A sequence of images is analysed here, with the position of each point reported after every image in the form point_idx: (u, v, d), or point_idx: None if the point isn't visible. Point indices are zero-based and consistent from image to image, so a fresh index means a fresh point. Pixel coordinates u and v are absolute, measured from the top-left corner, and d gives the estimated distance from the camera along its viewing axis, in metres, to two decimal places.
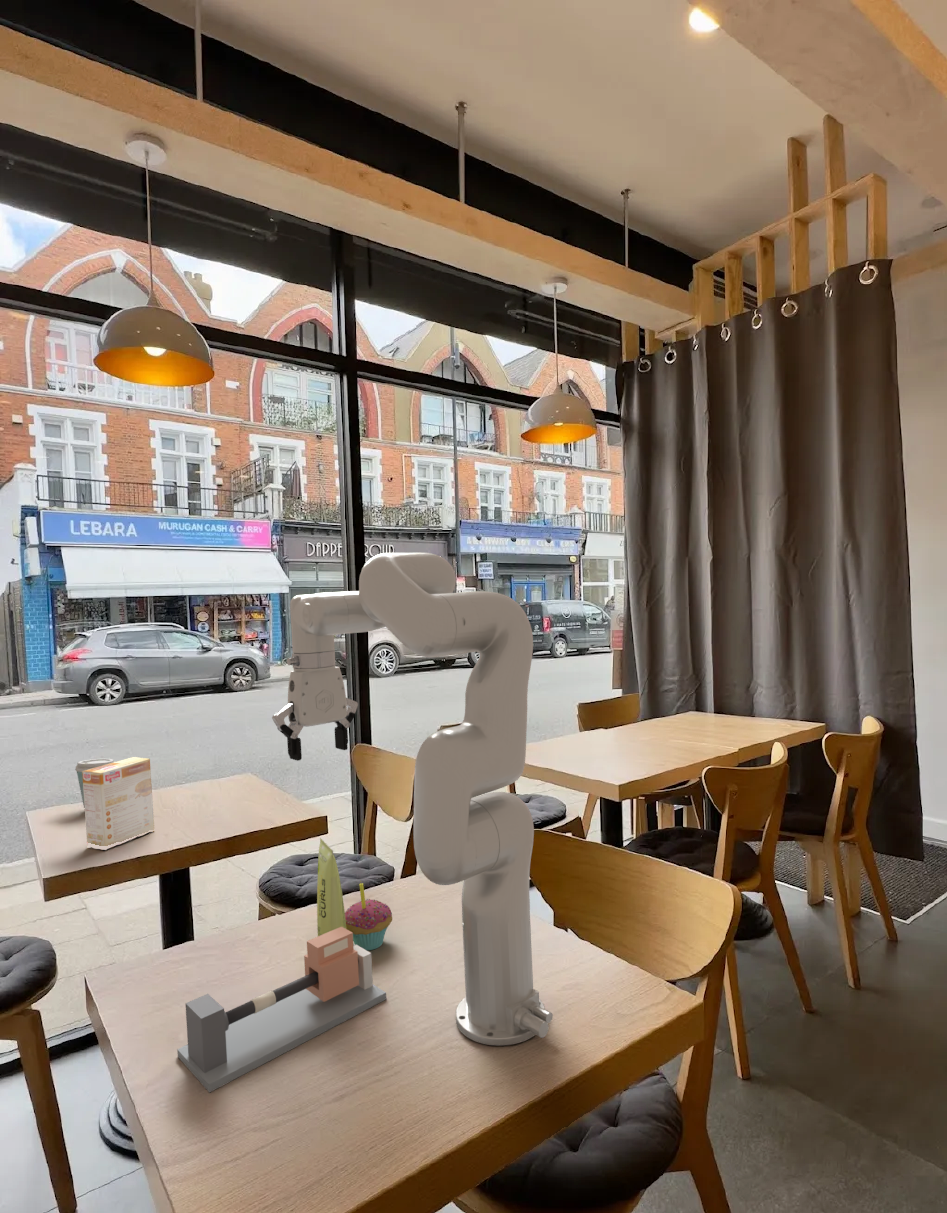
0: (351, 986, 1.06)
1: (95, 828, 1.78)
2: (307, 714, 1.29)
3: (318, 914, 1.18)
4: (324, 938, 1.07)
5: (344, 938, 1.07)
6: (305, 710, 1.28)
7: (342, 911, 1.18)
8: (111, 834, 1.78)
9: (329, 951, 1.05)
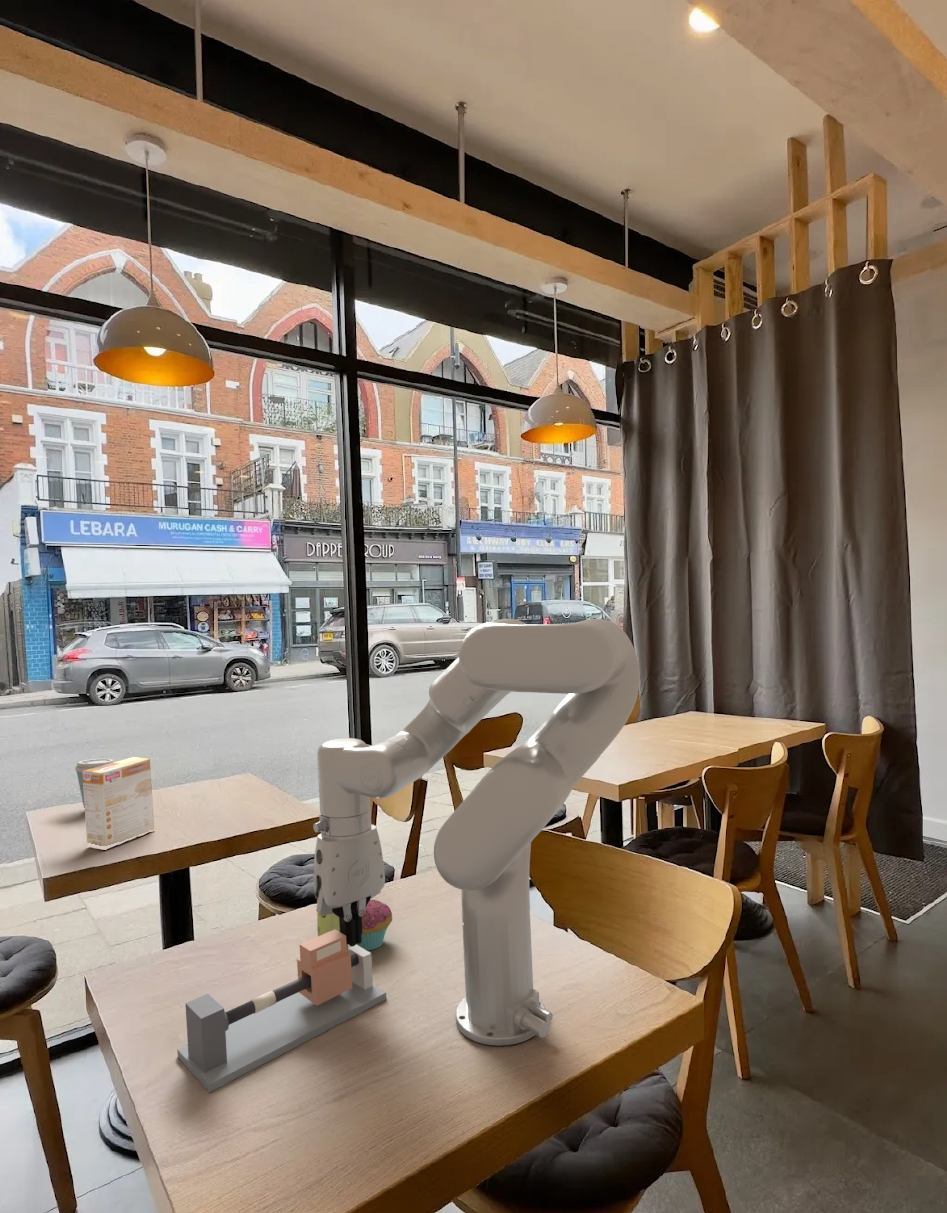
0: (344, 989, 1.06)
1: (95, 828, 1.78)
2: (338, 893, 1.05)
3: (318, 914, 1.18)
4: (317, 941, 1.06)
5: (337, 941, 1.06)
6: (335, 889, 1.05)
7: None
8: (111, 834, 1.78)
9: (322, 954, 1.04)
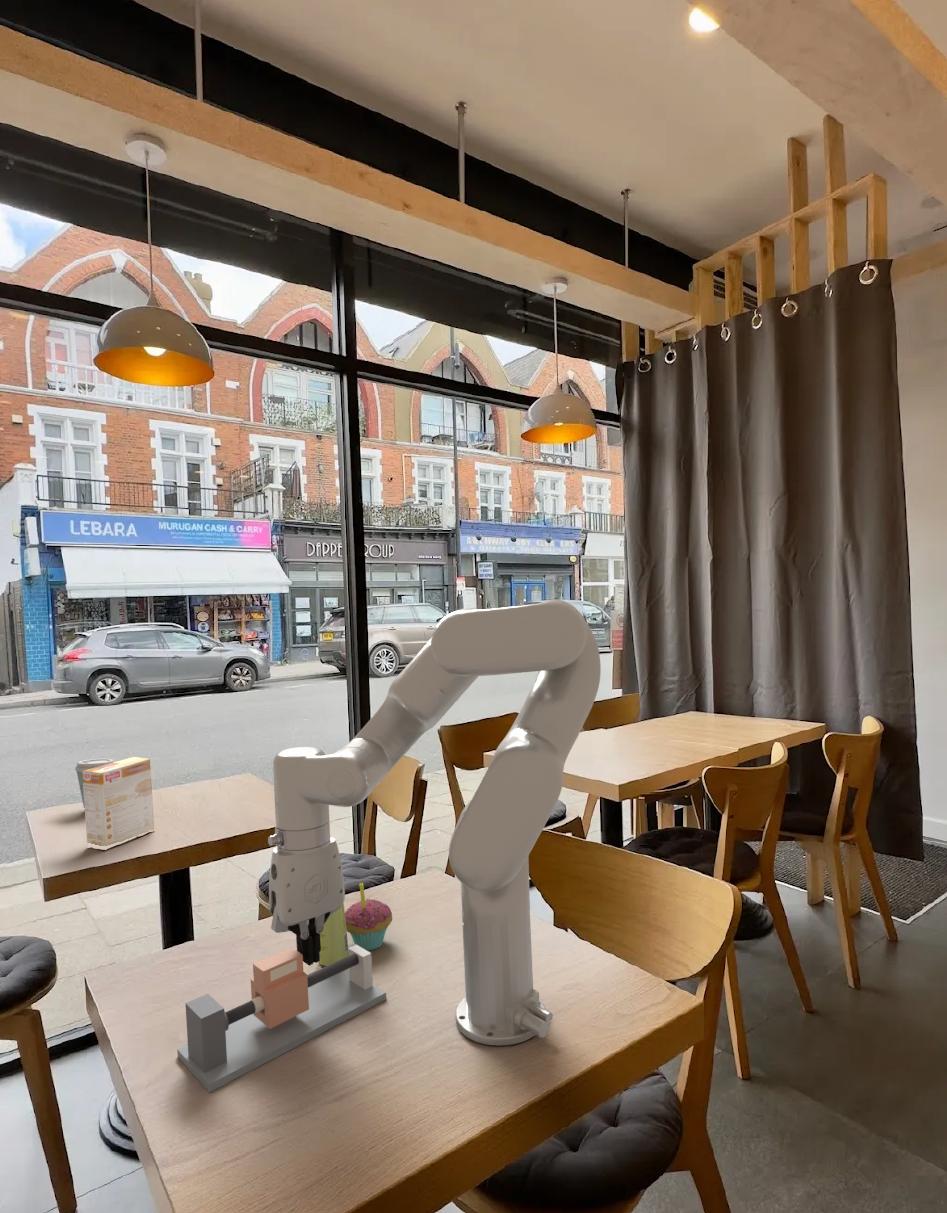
0: (300, 1011, 1.01)
1: (95, 828, 1.78)
2: (293, 910, 1.00)
3: None
4: (271, 960, 1.01)
5: (293, 960, 1.01)
6: (290, 905, 1.00)
7: (342, 911, 1.18)
8: (111, 834, 1.78)
9: (276, 974, 0.99)
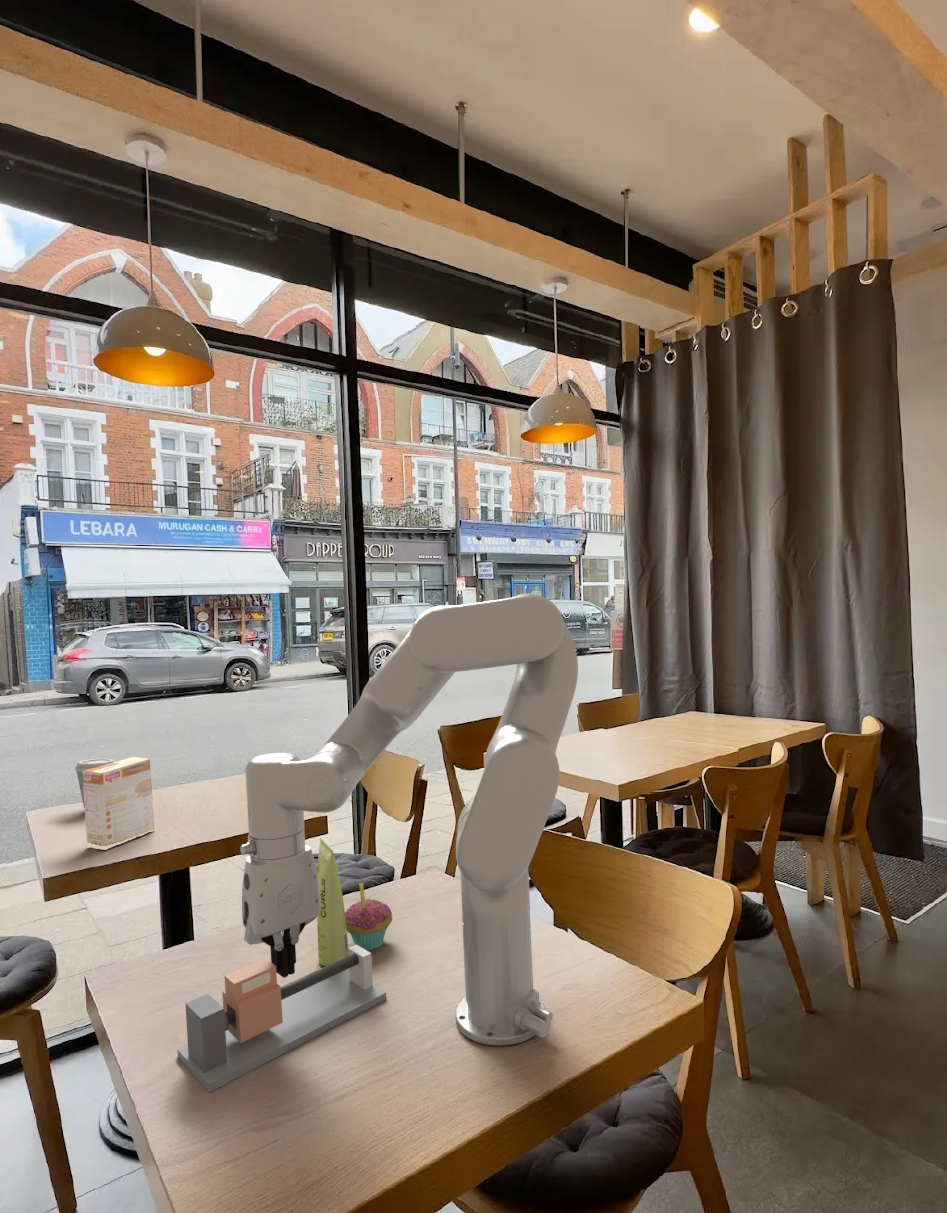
0: (273, 1024, 0.98)
1: (95, 828, 1.78)
2: (266, 921, 0.97)
3: (318, 914, 1.18)
4: (244, 972, 0.98)
5: (266, 972, 0.98)
6: (264, 916, 0.97)
7: (342, 911, 1.18)
8: (111, 834, 1.78)
9: (248, 987, 0.96)
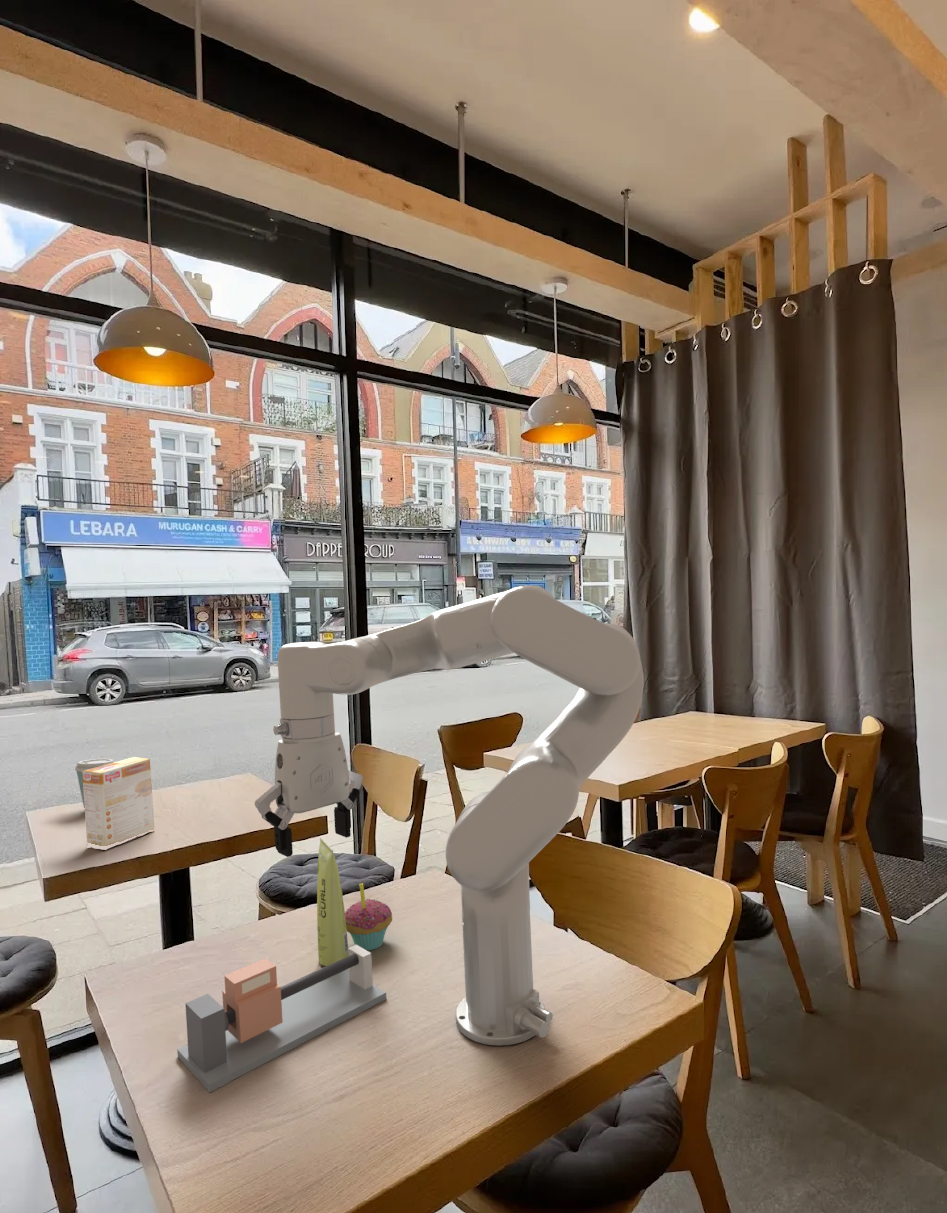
0: (273, 1024, 0.98)
1: (95, 828, 1.78)
2: (299, 798, 1.01)
3: (318, 914, 1.18)
4: (244, 972, 0.98)
5: (266, 972, 0.98)
6: (297, 793, 1.00)
7: (342, 911, 1.18)
8: (111, 834, 1.78)
9: (248, 987, 0.96)
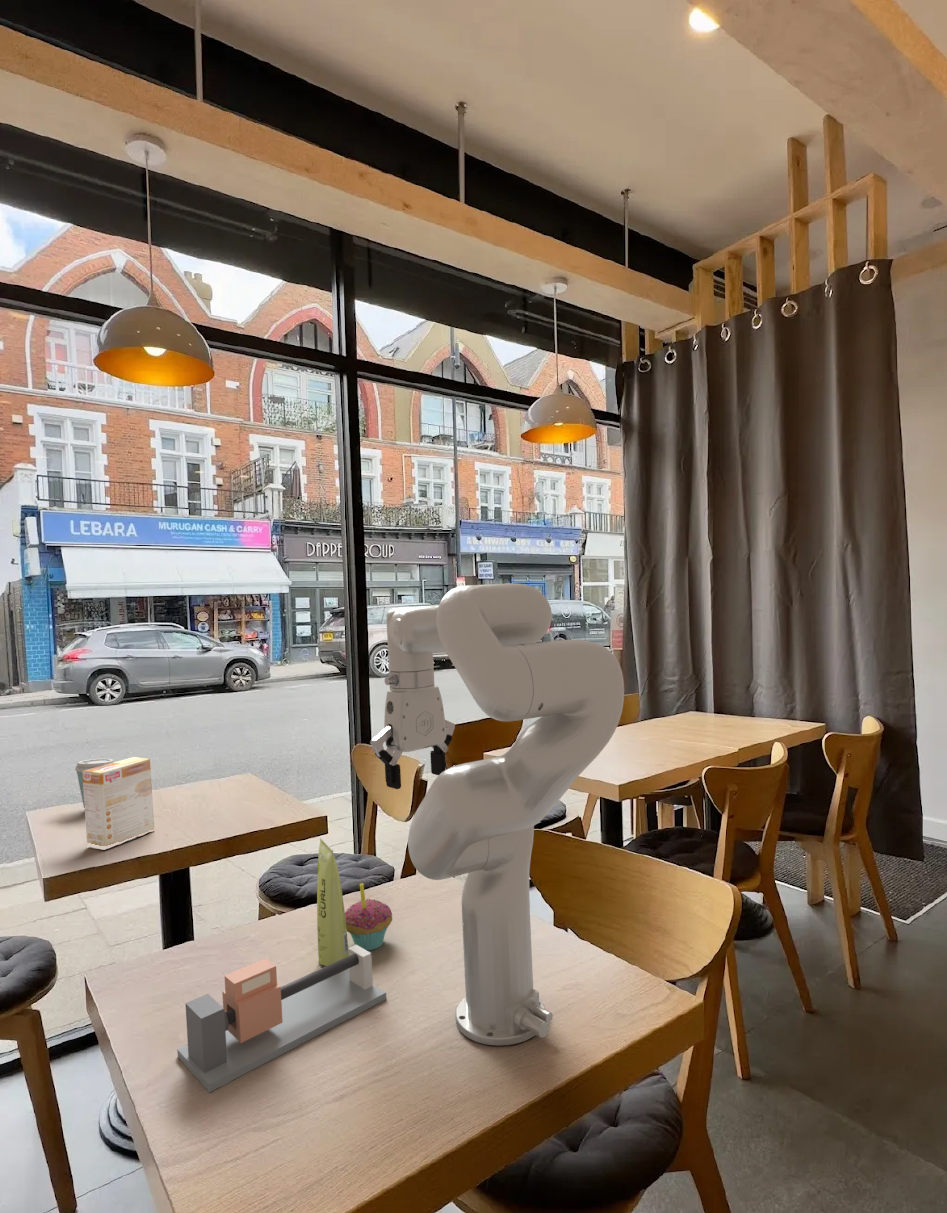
0: (273, 1024, 0.98)
1: (95, 828, 1.78)
2: (407, 738, 1.18)
3: (318, 914, 1.18)
4: (244, 972, 0.98)
5: (266, 972, 0.98)
6: (405, 734, 1.17)
7: (342, 911, 1.18)
8: (111, 834, 1.78)
9: (248, 987, 0.96)
